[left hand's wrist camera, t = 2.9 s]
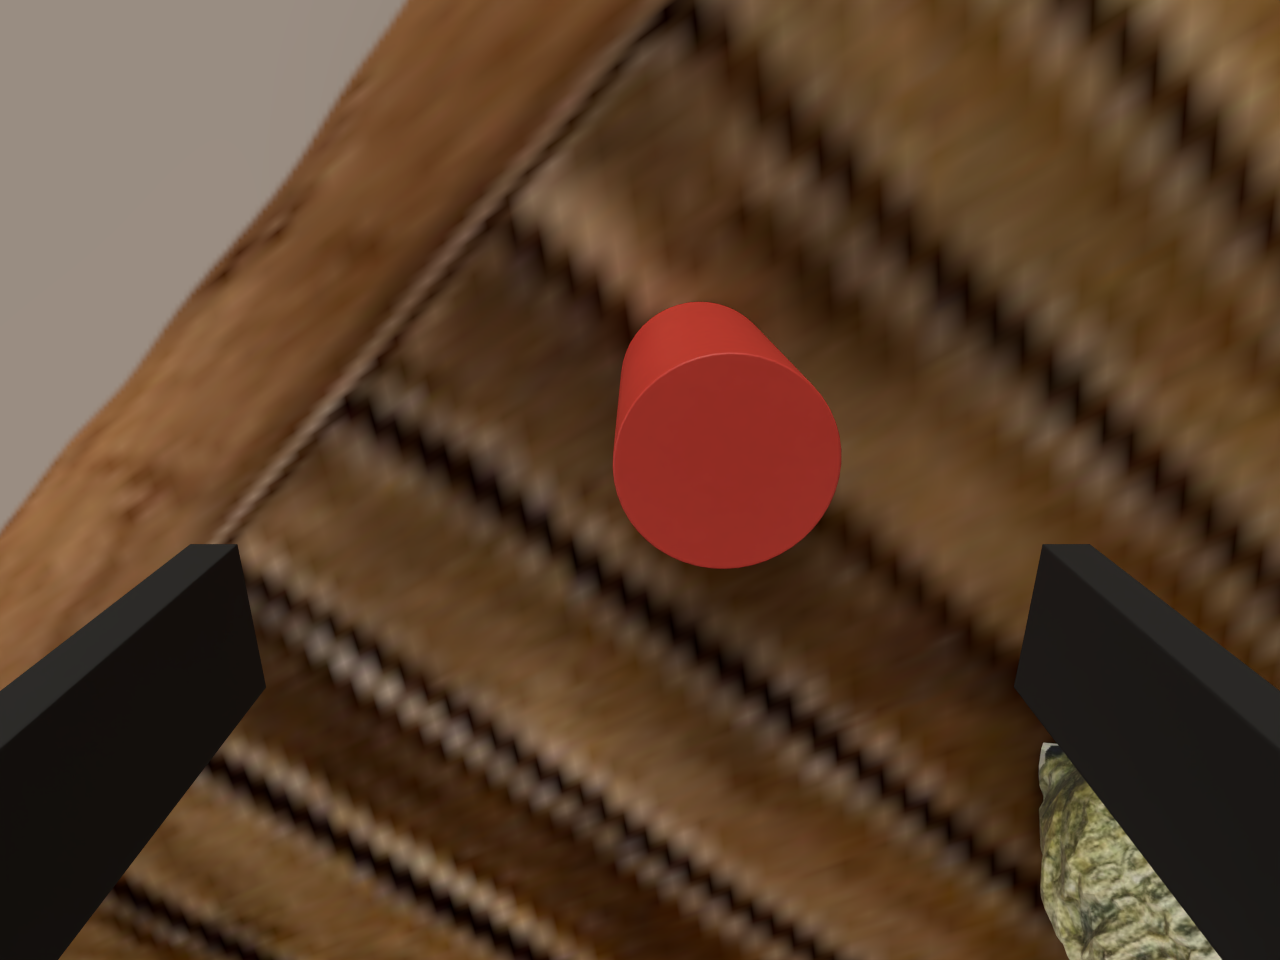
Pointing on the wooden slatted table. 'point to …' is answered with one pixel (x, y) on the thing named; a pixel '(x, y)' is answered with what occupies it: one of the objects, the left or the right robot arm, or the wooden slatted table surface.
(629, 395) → the cylinder
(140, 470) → the wooden slatted table surface
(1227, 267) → the wooden slatted table surface
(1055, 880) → the fossil
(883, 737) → the wooden slatted table surface
